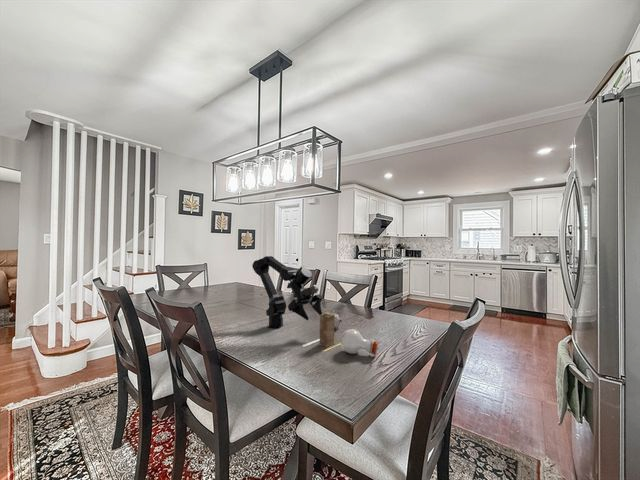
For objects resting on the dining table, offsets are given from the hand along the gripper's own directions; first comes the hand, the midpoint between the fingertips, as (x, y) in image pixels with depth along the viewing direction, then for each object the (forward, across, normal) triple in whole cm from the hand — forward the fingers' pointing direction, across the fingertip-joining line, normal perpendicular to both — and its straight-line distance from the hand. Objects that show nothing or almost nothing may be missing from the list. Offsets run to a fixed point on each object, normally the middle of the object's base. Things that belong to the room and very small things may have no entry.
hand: (314, 317), depth 124 cm
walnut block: (+12, 0, +2) cm, 13 cm away
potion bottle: (+24, +1, -9) cm, 25 cm away
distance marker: (+15, 0, -1) cm, 15 cm away
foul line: (+8, 0, +6) cm, 10 cm away
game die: (+4, +19, +11) cm, 22 cm away
